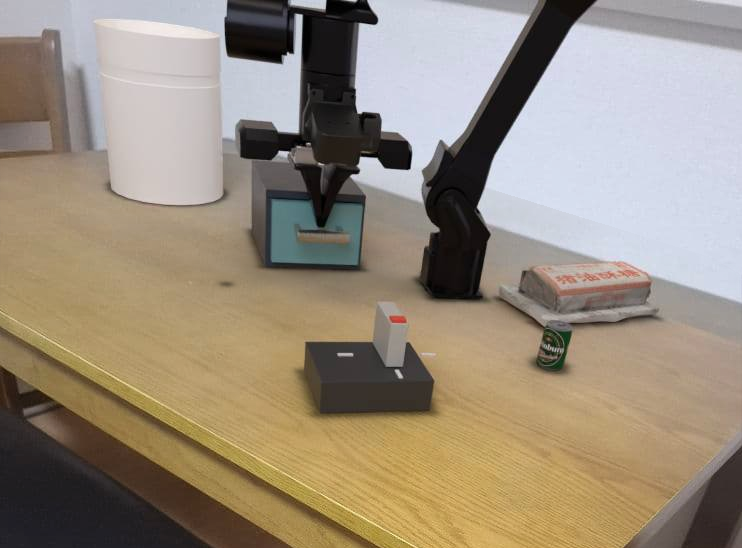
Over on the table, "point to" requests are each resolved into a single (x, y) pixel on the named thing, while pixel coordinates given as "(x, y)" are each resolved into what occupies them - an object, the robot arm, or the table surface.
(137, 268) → the table surface
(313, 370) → the dial panel
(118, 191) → the canister
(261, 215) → the cabinet
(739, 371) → the table surface
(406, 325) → the dial
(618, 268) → the packaged product
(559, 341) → the beer can
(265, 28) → the robot arm
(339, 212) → the drawer
